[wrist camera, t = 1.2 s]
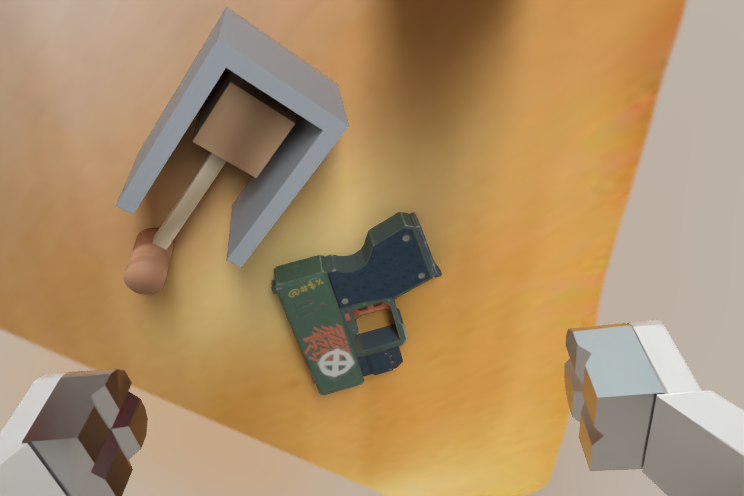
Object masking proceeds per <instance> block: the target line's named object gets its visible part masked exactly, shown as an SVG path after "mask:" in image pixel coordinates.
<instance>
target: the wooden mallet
mask: <svg viewBox="0 0 744 496" xmlns="http://www.w3.org/2000/svg"><path fill="white" fill-rule="evenodd" d="M294 125H295V113H294V111H292V110H291V109H289V108H288V107H286V106H285V105H283V104H281V103H280V102H278V101H277V100H275V99H274V98H272V97H271V96H269V95H268V94H266V93H264V92H263V91H261V90H260V89H258V88H257V87H255V86H254V85H252V84H251V83H249V82H247V81H246V80H244V79H243V78H241V77H240V76H238V75H237V74H235V73H234V72H232V71H231V70H229V69H228V70H227V72H226V73H225V75H224V76H223V78H222V79H221V81H220V83H219V84H218V86H217V87H216V89H215V90H214V92H213V94H212V95H211V97H210V98H209V100H208V102H207V103H206V105H205V106H204V108H203V109H202V111H201V113H200V114H199V118H198V122H197V126H196V129H195V133H194V137H193V141H192V142H194V143H196V144H197V145H199V146H201V147H203V148H204V149H206V150H208V151H210V153H209V154H208V156H207V157H206V159H205V160H204V162H203V163H202V165H201V166H200V168H199V169H198V171H197V172H196V174H195V176H194V177H193V179H192V180H191V182H190V183H189V185H188V186H187V188H186V189H185V191H184V192H183V194H182V195H181V197H180V198H179V200H178V201H177V203H176V204H175V206H174V207H173V209H172V210H171V212H170V213H169V215H168V216H167V218H166V219H165V221H164V222H163V224H162V225H161V227H160V228H159V229H157V228H150V229H146V230H143V231H142V232H141V233H139V235H138V236H137V239H136V242H135V245H134V248H133V251H132V254H131V257H130V259H129V262H128V265H127V268H126V271H125V274H124V281H125V283H126V285H127V286H128V287H129V288H130V289H131V290H132V291H134V292H136V293H139V294H146V295H148V294H154V293H157V292H158V291H160V290H161V289H162V288H163V287H164V284H165V281H166V277H167V272H168V268H169V264H170V260H171V256H172V252H173V247H174V242H173V239H174V238H175V236H176V235H177V234H178V232H179V231H180V229H181V228H182V226H183V225H184V223H185V222H186V220H187V219H188V217H189V216H190V214H191V213H192V212H193V210H194V209H195V207H196V206H197V204H198V203H199V201H200V200H201V198H202V197H203V195H204V194H205V192H206V191H207V189H208V188H209V187H210V185H211V184H212V182H213V181H214V179H215V178H216V176H217V175H218V173H219V172H220V170H221V169H222V167H223V166H224V165H225V163H226V162H229V163H231V164H232V165H234V166H236V167H238V168H239V169H241V170H243V171H245V172H246V173H248V174H250V175H252V176H253V177H255V178H257V177H258V175H259V174H260V172H261V171H262V170H263V168H264V167H265V165H266V164H267V163H268V161H269V160H270V158H271V157H272V156H273V154H274V153H275V151H276V150H277V149H278V147H279V146H280V144H281V143H282V142H283V140H284V139H285V137H286V136H287V135H288V133H289V132H290V130H291V129H292V128H293V126H294Z"/></svg>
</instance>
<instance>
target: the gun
mask: <svg viewBox="0 0 744 496" xmlns="http://www.w3.org/2000/svg"><path fill="white" fill-rule="evenodd" d="M274 272H275V280H272V286H273V287H272V292H273V294H275V293H278V296H279V298H280V300H281V303H282V305H283V307H284V310H285V312H286V314H287V317H288V319H289V322H290V324H291V326H292V329H293V331H294V333H295V336H296V338H297V341H298V343H299V345H300V348H301V350H302V352H303V355H304V357H305V359H306V362H307V364H308V367H309V369H310V371H311V375H312V382H313V383H314V384H315V383H316V385H317V388H318V390H319V393H320V394H321V395H326V394H330V393H333V392H337V391H340V390H343V389H347V388H350V387H354V386H357V385H361V384H363V382H364V378H363V376H366V375H370V374H375V375H377V374H381V373H384V372H388V371H391V370H393V369H394V368H397V367H398V366H399V365H400V364H401V363H402V362H403V360H402V356H401V353H400V349H399V346H400V345H402V344H403V343H404V342H405V341H406V340H407V339H408V338H407V334H406V331H405V327H404V324H403V320H402V317H401V314H400V311H399V309H398V308H396V305H395V301H394V299H395V298H397V297H398V296H400V295H402V294H404V293H406V292H408V291H410V290H411V289H413V288H415V287H417V286H419V285H421V284H423V283H424V282H426V281H428V280H430V279H432V278H433V276H434V277H440V276H441V275H442V273H441V270H440V269H439V267H438V266H437V265H436V264H435V262H434V260H433V258H432V255H431V252H430V250H429V247H428V244H427V242H426V239H425V236H424V234H423V231H422V228H421V226H420V223H419V221H418V219H417V217H416V214H415V213H414V212H413V213H411V214H408V213H402V212H399V213H397V214H395V215H394V216H392V217H390V218H389V219H387V220H385V221H384V222H382V223H380V224H379V225H377V226H375V227H374V228H372V229H370V230H369V231H368V234H367V237H366V240H365V243H364V245H363V247H362V249H361V250H360V251H358V252H356V253H355V254H352V255H349V256H336V255H329V256H326V257H324V256H322V255H318V256H314V257H310V258H307V259H303V260H299V261H296V262H292V263H288V264H285V265H281V266H277V267H276V268H275V269H274ZM377 303H381V304H378V305H375V306H374V304H377ZM364 307H367V308H364ZM360 308H364V309H361V310H360ZM381 309H389V310H391V311H392V314H393V318H394V321H395V324H394V325H391V326H387V327H383V328H380V329H376V330H373V331H369V332H365V333H362V334H358V335H357V333H358V327H357V324H356V319H357V318H358V317H359V316H360V315H364V314H367V313H371V312H374V311H378V310H381Z"/></svg>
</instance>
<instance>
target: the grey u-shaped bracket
mask: <svg viewBox="0 0 744 496" xmlns="http://www.w3.org/2000/svg"><path fill="white" fill-rule="evenodd" d="M225 68H227V69H229V70H231V71H232V72H234V73H235V74H237V75H238V76H240V77H241V78H243V79H244V80H246V81H247V82H249V83H251V84H252V85H254V86H255V87H257V88H258V89H260V90H261V91H263V92H264V93H266V94H268V95H269V96H271V97H272V98H274V99H275V100H277V101H278V102H280V103H281V104H283V105H285V106H286V107H288V108H289V109H291V110H292V111H294V112H295V113H297V115H296V116H295V125H294V126H293V128H292V129H291V130H290V132H289V133H288V135H287V136H286V137H285V139H284V140H283V142H282V143H281V144H280V146H279V147H278V149H277V150H276V151H275V153H274V154H273V156H272V157H271V158H270V160H269V161H268V163H267V164H266V165H265V167H264V168H263V170H262V171H261V172H260V174H259V175H258V177H257V178H255V177H252V178H251V180H250V181H249V183H248V184H247V185H246V187H245V188H244V190H243V191H242V192H241V194H240V195H239V197H238V198H237V199H236V201H235V202H234V204H233V205H232V215H231V224H230V234H229V243H228V253H227V261H229V262H231V263H233V264H235V265H237V266H239V267H242V266H243V265H244V264H245V262H246V261H247V260H248V258H249V257H250V256H251V254H252V253H253V252H254V250H255V249H256V248H257V246H258V245H259V244H260V242H261V241H262V240H263V239H264V237H265V236H266V235H267V233H268V232H269V231H270V229H271V228H272V227H273V225H274V224H275V223H276V221H277V220H278V219H279V217H280V216H281V215H282V214H283V212H284V211H285V210H286V208H287V207H288V206H289V204H290V203H291V202H292V200H293V199H294V198H295V196H296V195H297V194H298V192H299V191H300V190H301V189H302V187H303V186H304V185H305V183H306V182H307V181H308V179H309V178H310V177H311V175H312V174H313V173H314V171H315V170H316V169H317V167H318V166H319V165H320V164H321V162H322V161H323V160H324V158H325V157H326V156H327V154H328V153H329V152H330V150H331V149H332V148H333V146H334V145H335V144H336V142H337V141H338V140H339V138H340V137H341V136H342V135H343V133H344V132H345V131H346V129H347V128H348V127H349V124H348V120H347V117H346V113H345V109H344V106H343V102H342V98H341V95H340V91H339V88H338V85H337V84H336V83H335V82H333V81H332V80H330V79H329V78H327V77H326V76H325V75H323V74H322V73H320V72H319V71H317V70H316V69H315V68H313V67H312V66H310V65H309V64H307V63H306V62H305V61H303V60H302V59H300V58H299V57H297V56H296V55H294V54H293V53H292V52H290V51H289V50H287V49H286V48H284V47H283V46H282V45H280V44H279V43H277V42H276V41H274V40H273V39H272V38H270V37H269V36H267V35H266V34H264V33H263V32H261V31H260V30H259V29H257V28H256V27H254V26H253V25H251V24H250V23H249V22H247V21H246V20H244V19H243V18H241V17H240V16H239V15H237V14H236V13H234V12H233V11H231V10H230V9H229V8H227V7H226V9H225V11H224V12H223V14H222V16H221V17H220V19H219V21H218V22H217V24H216V26H215V27H214V29H213V31H212V32H211V34H210V36H209V37H208V39H207V40H206V42H205V44H204V45H203V47H202V49H201V50H200V52H199V54H198V55H197V57H196V59H195V60H194V62H193V64H192V65H191V67H190V69H189V70H188V72H187V74H186V75H185V77H184V79H183V80H182V82H181V84H180V85H179V87H178V89H177V90H176V92H175V93H174V95H173V97H172V98H171V100H170V102H169V103H168V105H167V107H166V108H165V110H164V112H163V113H162V115H161V117H160V118H159V120H158V122H157V123H156V125H155V127H154V128H153V130H152V132H151V133H150V135H149V137H148V138H147V140H146V142H145V143H144V145H143V146H142V148H141V150H140V151H139V153H138V155H137V157H136V160H135V162H134V164H133V167H132V169H131V171H130V174H129V176H128V178H127V181H126V183H125V186H124V188H123V190H122V193H121V195H120V197H119V200H118V202H117V204H116V206H117V207H119V208H121V209H123V210H125V211H127V212H129V213H131V214H134V213H135V211H136V209H137V208H138V206H139V205H140V203H141V201H142V200H143V198H144V197H145V195H146V194H147V192H148V190H149V189H150V187H151V186H152V184H153V182H154V181H155V179H156V178H157V176H158V175H159V173H160V171H161V170H162V168H163V167H164V165H165V163H166V162H167V160H168V159H169V157H170V156H171V154H172V152H173V151H174V149H175V148H176V146H177V144H178V143H179V141H180V140H181V138H182V137H183V135H184V133H185V132H186V130H187V129H188V127H189V125H190V124H191V122H192V121H193V119H194V118H195V116H196V114H197V113H198V111H199V110H200V108H201V106H202V105H203V103H204V102H205V100H206V99H207V97H208V95H209V94H210V92H211V91H212V89H213V87H214V86H215V84H216V83H217V81H218V80H219V78H220V76H221V75H222V73H223V72H224V70H225Z"/></svg>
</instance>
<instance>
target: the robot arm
mask: <svg viewBox="0 0 744 496" xmlns="http://www.w3.org/2000/svg"><path fill="white" fill-rule="evenodd" d="M566 347H567V350H568V353H569V356H570V359H569V360H568V361H567V362H566V363H565V375H564V378H565V388H566V395H567V399H568V404H569V407H570V411H571V414H572V417H574V418H575V419H576V420H578V421H579V422H580V431H579V439H580V442H581V445H582V448H583V451H584V454H585V457H586V460H587V463H588V466H589V469H590V471H601V470H628V469H643V473H645V474H646V475H647V476H648V477H649V478H650V479H651V480H652V481H653V482H654V483H655V484H656V485H657V486H658V487H659V488H660V489H661V490H662V491H663V492H665V493H666V494H667V495H668V496H744V410H742V409H740V408H739V407H737V406H736V405H734V404H732V403H731V402H729V401H728V400H726V399H724V398H723V397H721V396H719V395H718V394H716V393H715V392H713V391H702V390H701V388H700V387H699V385H698V383H697V381H696V380H695V378H694V376H693V375H692V373H691V371H690V369H689V368H688V366H687V364H686V362H685V361H684V359H683V357H682V355H681V354H680V352H679V350H678V349H677V347H676V345H675V343H674V342H673V340H672V338H671V336H670V335H669V333H668V331H667V329H666V328H665V326H664V324H663V323H662V322H660V321H659V320H651V321H641V322H631V323H627V324H626V323H623V324H614V325H603V326H592V327H582V328H571V329H568V332H567V335H566ZM131 384H132V382H131V380H130V379H129V377H128V375H127V374H126V372H125V370H119V369H111V370H95V371H81V372H68V373H57V374H44V375H42V376H40V377H39V378H37V379H36V380H35V381H34V383H33V384H32V386H31V387H30V389H29V390H28V392H27V394H26V395H25V396H24V398H23V400H22V401H21V402H20V404H19V406H18V407H17V409H16V410H15V412H14V413H13V415H12V416H11V418H10V419H9V421H8V422H7V424H6V425H5V427H4V428H3V430H2V432H1V433H0V496H122V494H123V492H124V489H125V487H126V485H127V482H128V480H129V477H130V475H131V472H132V470H133V469H132V466H131V464H130V461H129V459H130V458H131V457H132V456H133V455H135V454H136V453H137V452H138V451H139V450H140V449H141V447H142V445H143V442H144V440H145V437H146V432H147V420H148V419H147V414H146V410H145V407H144V405H143V403H142V401H141V399H140V398H138V397H137V396H135V395H133V394H132V393H130V392H129V389H130V386H131Z"/></svg>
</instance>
